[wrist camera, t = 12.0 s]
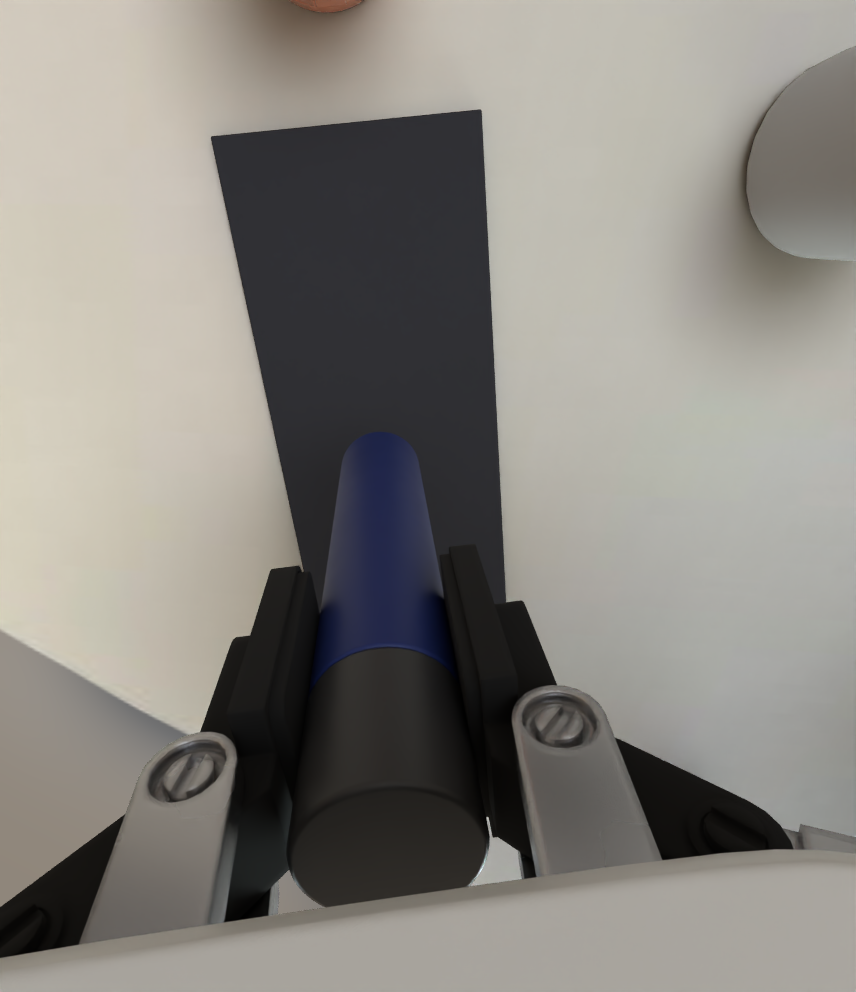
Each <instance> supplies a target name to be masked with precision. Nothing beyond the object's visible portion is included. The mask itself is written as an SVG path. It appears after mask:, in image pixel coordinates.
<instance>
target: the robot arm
mask: <svg viewBox="0 0 856 992" xmlns="http://www.w3.org/2000/svg"><path fill="white" fill-rule="evenodd" d="M440 565H441V575H442V585H443V595H444V602H445V608H446V613H447V618H448V624H449V629H450V635H451V640H452V645H453V651H454V656H455V661H456V667H457V672H458V677H459V684H460V688H461V693H462V699H463V704H464V710H465V715H466V720H467V726H468V731H469V736H470V742H471V746H472V749H473V752H474V757H475V762H476V767H477V773H478V778H479V783H480V789H481V794H482V799H483V804H484V810H485V815H486V817H489V821H490V826H491V831H492V836H493V837H499V838H500V839H502V840H503V841H505V842H506V843H508V844H509V845H511V846H512V847H513V848H515V849H516V850H518V854H519V864H520V870H521V876H522V879H520V880H513V881H506V882H499V883H492V884H485V885H477V886H470V887H463V888H456V889H449V890H442V891H435V892H428V893H422V894H415V895H408V896H401V897H394V898H387V899H380V900H373V901H366V902H359V903H353V904H346V905H339V906H332V907H325V908H319V909H312V910H305V911H298V912H292V913H285V914H278V903H279V885H278V880H279V879H280V878H281V877H282V876H283V875H284V874H285V873H286V872H287V871H288V870H289V867H288V862H287V857H286V847H287V840H288V833H289V826H290V819H291V812H292V805H293V798H294V792H295V785H296V778H297V771H298V764H299V757H300V750H301V743H302V736H303V729H304V722H305V715H306V708H307V703H308V694H309V687H310V680H311V674H312V667H313V660H314V653H315V646H316V639H317V632H318V625H319V618H320V613H319V608H318V603H317V598H316V594H315V589H314V584H313V579H312V575H311V573H310V571H308V572H302V571H301V568H300V567H299V566H292V567H284V568H276V569H271V571H270V573H269V576H268V580H267V583H266V586H265V589H264V593H263V596H262V599H261V602H260V606H259V609H258V612H257V615H256V619H255V622H254V625H253V628H252V632H251V635H250V636H243V637H236V638H235V639H233V641H232V643H231V645H230V648H229V651H228V654H227V657H226V660H225V663H224V665H223V668H222V671H221V674H220V677H219V680H218V683H217V685H216V688H215V691H214V694H213V697H212V700H211V703H210V706H209V708H208V711H207V714H206V717H205V720H204V723H203V726H202V728H201V731H200V732H199V733H195V734H191V735H188V736H185V737H182V738H180V739H178V740H176V741H174V742H172V743H170V744H168V745H167V746H166V747H164V748H163V749H162V750H160V751H159V752H158V753H156V754H155V755H154V756H153V758H152V759H151V760H150V761H149V762H148V763H147V764H146V765H145V767H144V769H143V770H142V772H141V774H140V776H139V778H138V781H137V783H136V786H135V789H134V792H133V795H132V797H131V800H130V803H129V806H128V808H127V811H126V814H125V815H124V816H122V817H121V818H119V819H118V820H117V821H115V822H114V823H113V824H111V825H110V826H109V827H107V828H106V829H105V830H103V831H102V832H101V833H99V834H98V835H97V836H95V837H94V838H93V839H91V840H90V841H89V842H87V843H86V844H85V845H83V846H82V847H80V848H79V849H78V850H76V851H75V852H74V853H72V854H71V855H70V856H69V857H67V858H66V859H64V860H63V861H62V862H60V863H59V864H58V865H56V866H55V867H54V868H52V869H51V870H50V871H48V872H47V873H46V874H44V875H43V876H42V877H40V878H39V879H38V880H36V881H35V882H34V883H33V884H31V885H30V886H28V887H27V888H25V889H24V890H23V891H22V892H20V893H19V894H17V895H16V896H15V897H13V898H12V899H11V900H10V901H8V902H7V903H5V904H4V905H3V906H1V907H0V992H856V837H852V836H848V835H844V834H839V833H835V832H831V831H827V830H823V829H819V828H814V827H810V826H806V825H802V824H800V828H799V832H795V831H791V830H787V829H783V828H782V827H781V826H780V824H778V823H777V822H776V821H775V820H774V819H773V818H772V817H771V816H770V815H769V814H768V813H767V812H765V811H764V810H762V809H761V808H759V807H757V806H756V805H754V804H752V803H751V802H749V801H747V800H745V799H743V798H741V797H739V796H737V795H735V794H733V793H730V792H728V791H726V790H724V789H722V788H720V787H718V786H716V785H714V784H712V783H709V782H707V781H705V780H703V779H701V778H699V777H697V776H695V775H693V774H691V773H689V772H686V771H684V770H682V769H680V768H678V767H676V766H674V765H672V764H670V763H668V762H666V761H663V760H661V759H659V758H657V757H655V756H653V755H651V754H649V753H647V752H645V751H643V750H640V749H638V748H636V747H634V746H632V745H630V744H628V743H626V742H624V741H622V740H620V739H617V738H615V737H614V734H613V732H612V729H611V727H610V724H609V721H608V719H607V716H606V714H605V712H604V711H603V709H602V707H601V706H600V704H599V703H598V702H597V701H595V700H594V699H593V698H592V697H591V696H590V695H588V694H586V693H584V692H582V691H580V690H578V689H575V688H571V687H567V686H557V684H556V681H555V679H554V676H553V674H552V671H551V669H550V666H549V664H548V661H547V659H546V656H545V654H544V651H543V649H542V646H541V644H540V641H539V639H538V636H537V634H536V631H535V629H534V626H533V624H532V621H531V619H530V616H529V614H528V611H527V609H526V606H525V604H524V602H523V601H514V602H506V603H499V604H494V601H493V597H492V594H491V591H490V588H489V585H488V582H487V579H486V576H485V572H484V569H483V566H482V563H481V560H480V557H479V554H478V551H477V547H476V545H475V544H468V545H459V546H451V547H449V554H443V555H440Z"/></svg>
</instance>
